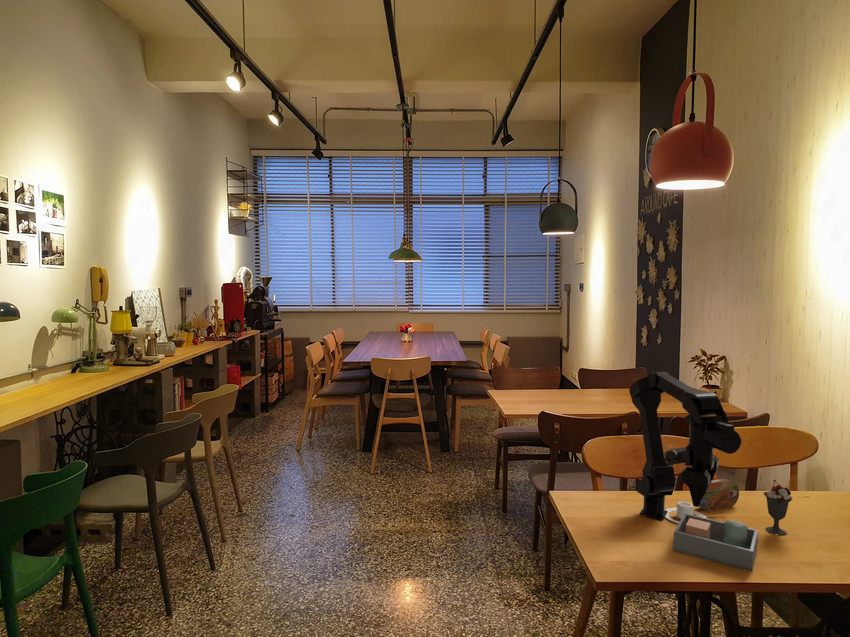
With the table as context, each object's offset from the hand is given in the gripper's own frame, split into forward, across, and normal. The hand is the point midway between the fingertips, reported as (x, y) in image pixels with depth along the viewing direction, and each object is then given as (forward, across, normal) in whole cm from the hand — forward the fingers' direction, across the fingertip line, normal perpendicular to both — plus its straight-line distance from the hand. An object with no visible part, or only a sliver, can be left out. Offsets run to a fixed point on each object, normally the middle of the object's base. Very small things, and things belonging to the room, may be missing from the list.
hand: (699, 500), depth 141 cm
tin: (+12, -29, 0) cm, 32 cm away
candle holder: (+13, -16, -6) cm, 21 cm away
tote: (+12, 0, +4) cm, 13 cm away
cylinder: (+11, 0, +8) cm, 14 cm away
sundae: (+12, -21, +16) cm, 29 cm away
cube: (+11, 0, 0) cm, 11 cm away
